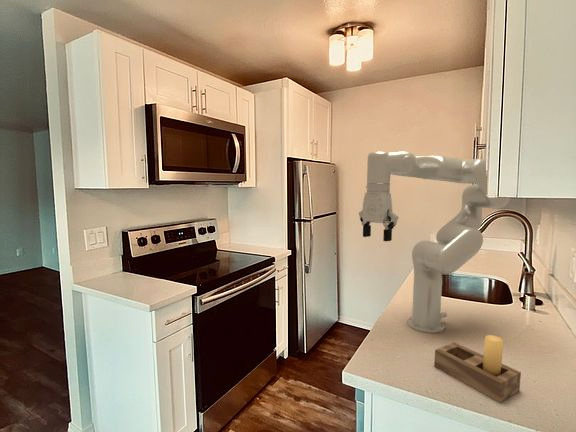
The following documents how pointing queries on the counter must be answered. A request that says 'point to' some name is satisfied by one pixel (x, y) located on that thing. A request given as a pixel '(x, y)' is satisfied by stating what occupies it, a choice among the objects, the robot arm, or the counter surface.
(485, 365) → the peg
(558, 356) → the counter surface
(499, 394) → the socket block
